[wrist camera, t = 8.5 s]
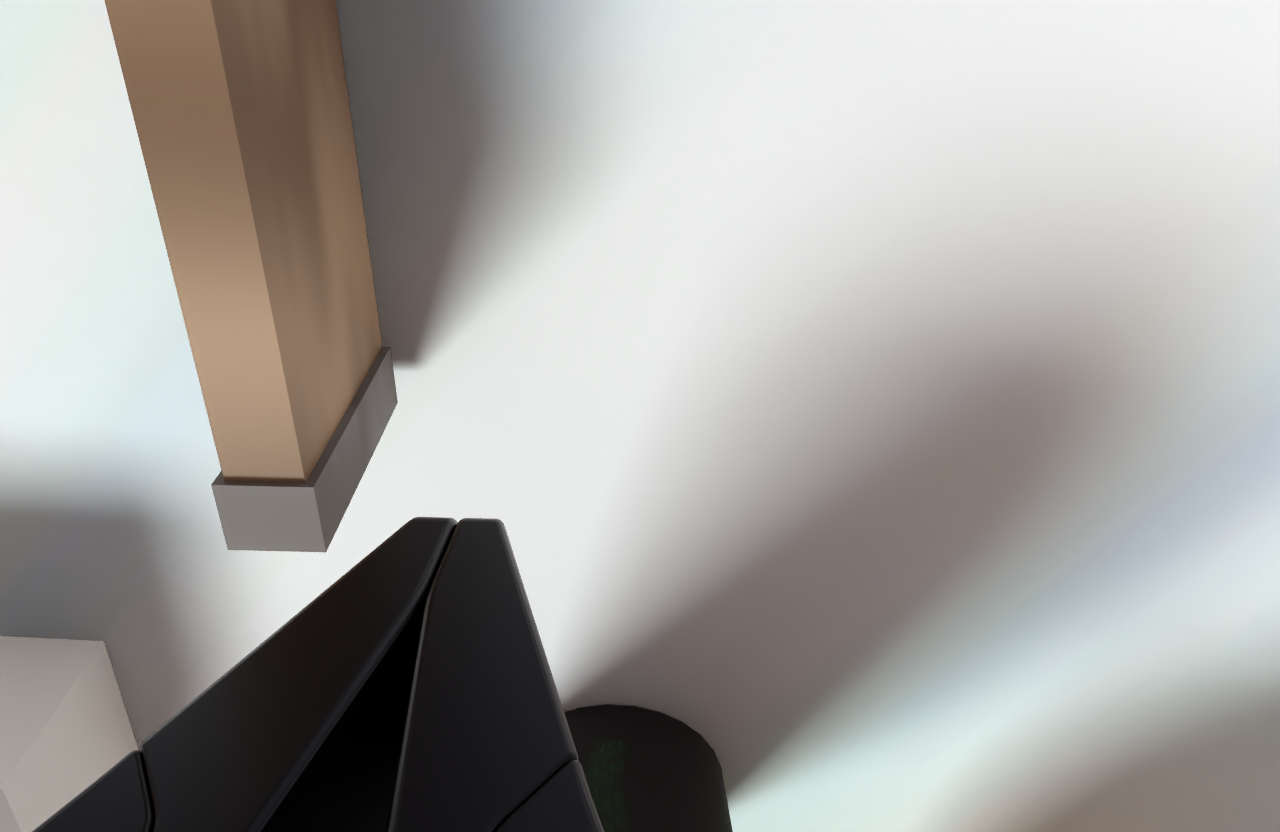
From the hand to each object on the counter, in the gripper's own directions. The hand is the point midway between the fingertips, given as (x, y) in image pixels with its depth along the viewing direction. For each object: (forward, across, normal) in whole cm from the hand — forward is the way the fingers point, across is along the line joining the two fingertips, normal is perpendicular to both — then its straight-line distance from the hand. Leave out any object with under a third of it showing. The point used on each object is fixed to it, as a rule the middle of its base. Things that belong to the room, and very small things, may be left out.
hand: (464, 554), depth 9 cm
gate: (+9, +4, -3) cm, 10 cm away
